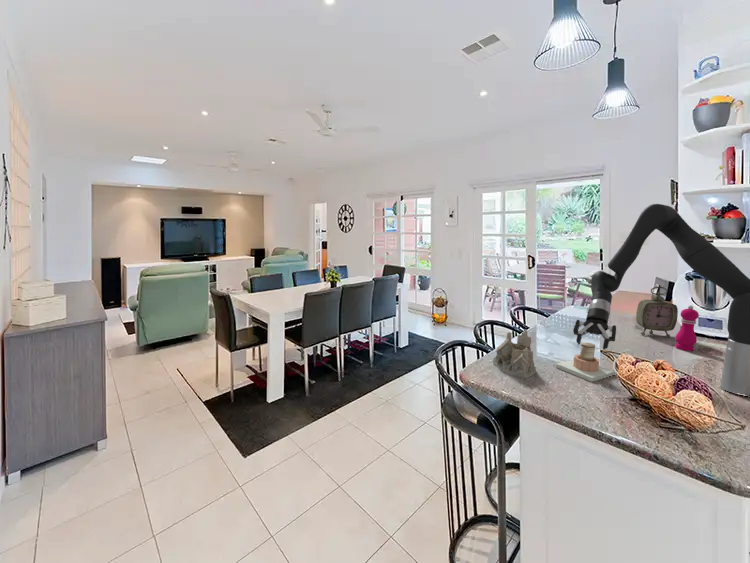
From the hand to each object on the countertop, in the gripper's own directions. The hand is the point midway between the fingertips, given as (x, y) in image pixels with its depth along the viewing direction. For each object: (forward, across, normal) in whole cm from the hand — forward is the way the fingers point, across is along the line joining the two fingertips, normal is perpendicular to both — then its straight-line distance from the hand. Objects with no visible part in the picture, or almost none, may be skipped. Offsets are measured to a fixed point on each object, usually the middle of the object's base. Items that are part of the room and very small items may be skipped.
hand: (591, 346), depth 136 cm
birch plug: (+10, 0, -2) cm, 11 cm away
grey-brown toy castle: (+22, -22, -11) cm, 33 cm away
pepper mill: (-30, +30, +41) cm, 59 cm away
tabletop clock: (-42, +18, +53) cm, 70 cm away
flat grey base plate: (+12, 0, -1) cm, 12 cm away
